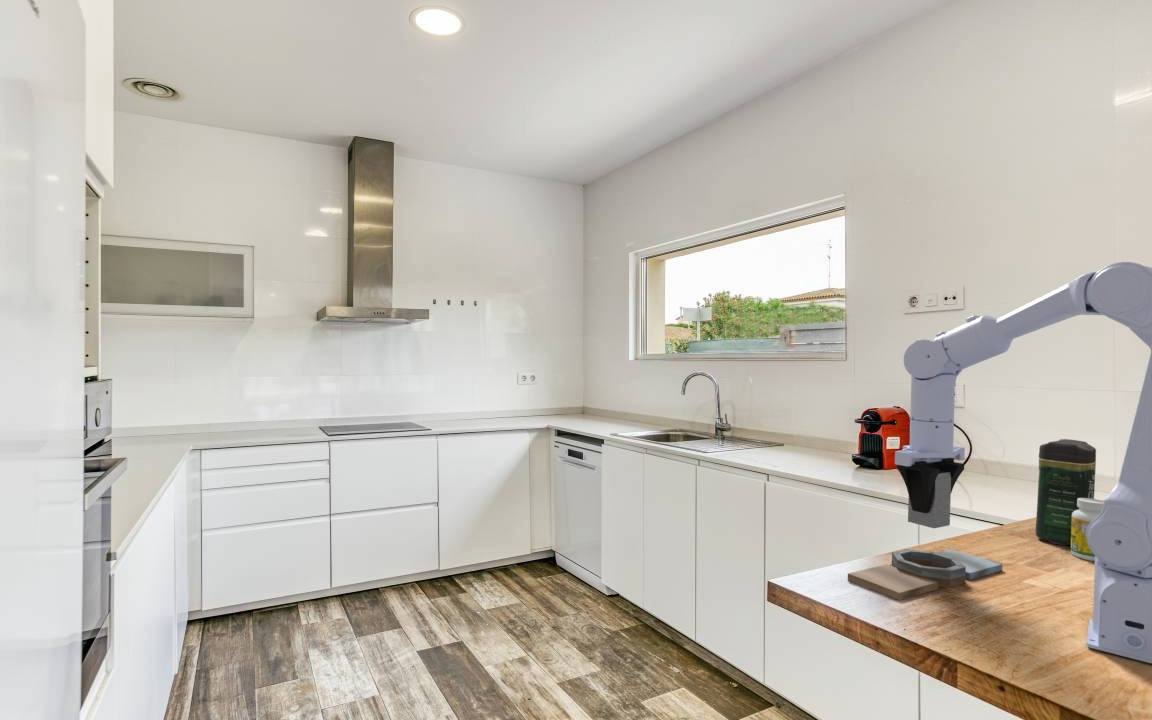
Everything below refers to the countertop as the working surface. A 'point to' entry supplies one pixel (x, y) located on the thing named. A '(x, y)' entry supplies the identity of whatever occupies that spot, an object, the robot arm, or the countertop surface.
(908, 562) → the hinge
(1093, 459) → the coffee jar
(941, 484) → the grey metal brick
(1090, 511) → the supplement bottle
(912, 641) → the countertop surface
